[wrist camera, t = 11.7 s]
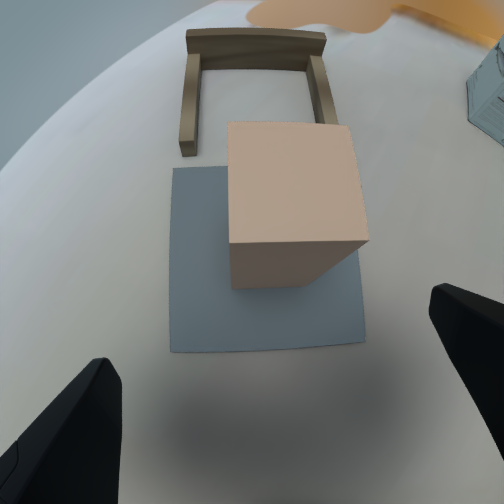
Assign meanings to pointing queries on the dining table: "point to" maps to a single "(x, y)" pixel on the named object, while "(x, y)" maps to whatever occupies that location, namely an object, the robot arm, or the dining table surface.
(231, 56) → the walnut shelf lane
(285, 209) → the peach block
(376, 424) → the dining table surface
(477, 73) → the supplement box
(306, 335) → the slate rubber mat
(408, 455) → the dining table surface
